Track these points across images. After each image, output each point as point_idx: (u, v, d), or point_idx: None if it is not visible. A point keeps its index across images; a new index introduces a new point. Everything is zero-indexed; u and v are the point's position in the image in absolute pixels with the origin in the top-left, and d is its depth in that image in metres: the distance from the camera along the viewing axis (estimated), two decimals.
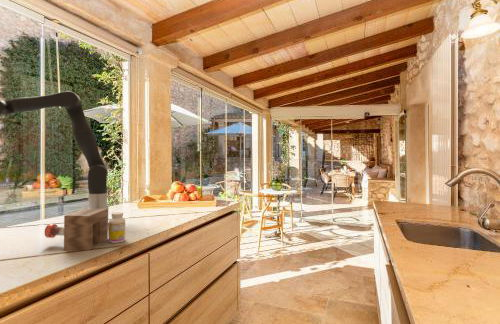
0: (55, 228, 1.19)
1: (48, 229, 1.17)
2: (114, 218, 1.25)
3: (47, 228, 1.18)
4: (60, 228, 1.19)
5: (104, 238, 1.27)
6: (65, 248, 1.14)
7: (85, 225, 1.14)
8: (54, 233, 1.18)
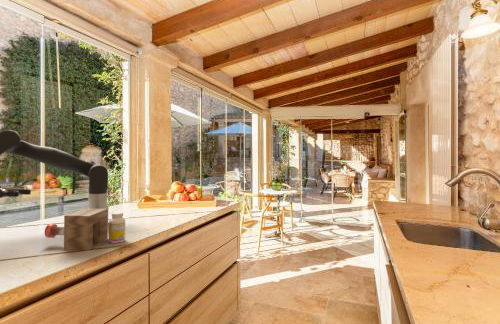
0: (55, 228, 1.19)
1: (48, 229, 1.17)
2: (114, 218, 1.25)
3: (47, 228, 1.18)
4: (60, 228, 1.19)
5: (104, 238, 1.27)
6: (65, 248, 1.14)
7: (85, 225, 1.14)
8: (54, 233, 1.18)
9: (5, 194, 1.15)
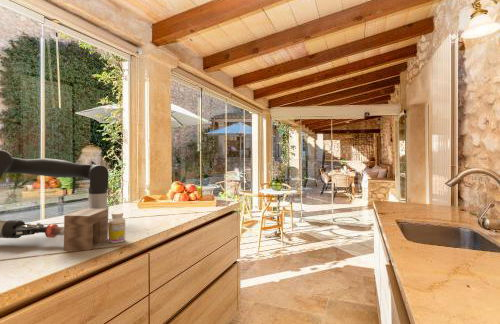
0: (56, 228, 1.19)
1: (49, 229, 1.18)
2: (114, 218, 1.25)
3: (48, 228, 1.18)
4: (61, 228, 1.19)
5: (104, 238, 1.27)
6: (65, 248, 1.14)
7: (85, 225, 1.14)
8: (55, 233, 1.18)
9: (37, 230, 1.18)
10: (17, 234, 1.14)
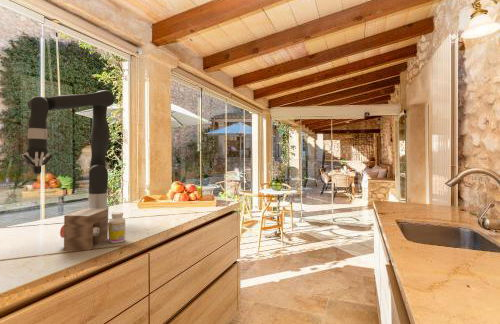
0: None
1: None
2: (114, 218, 1.25)
3: (63, 228, 1.18)
4: None
5: (104, 238, 1.27)
6: (65, 248, 1.14)
7: (85, 225, 1.14)
8: None
9: (33, 165, 1.35)
10: (22, 155, 1.31)
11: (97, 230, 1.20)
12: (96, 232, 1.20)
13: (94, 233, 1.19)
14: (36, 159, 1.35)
